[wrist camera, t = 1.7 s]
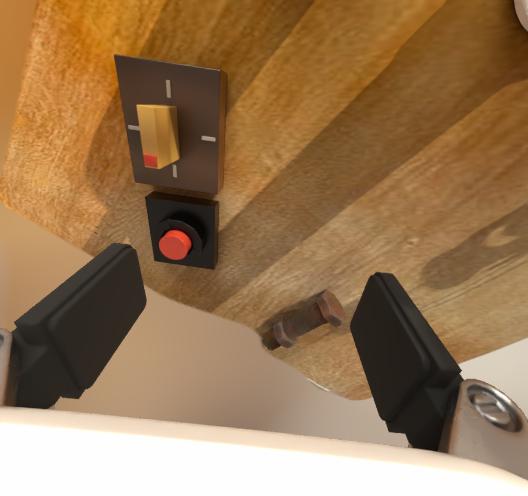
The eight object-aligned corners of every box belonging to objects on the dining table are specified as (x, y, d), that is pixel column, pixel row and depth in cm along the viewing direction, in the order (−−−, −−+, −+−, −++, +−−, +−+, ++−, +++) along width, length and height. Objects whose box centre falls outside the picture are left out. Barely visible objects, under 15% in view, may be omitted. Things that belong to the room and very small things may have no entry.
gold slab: (163, 104, 23) (134, 104, 19) (176, 106, 23) (151, 107, 19) (167, 157, 26) (143, 167, 22) (180, 158, 26) (158, 169, 22)
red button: (163, 227, 30) (157, 233, 29) (191, 231, 30) (186, 238, 29) (166, 250, 32) (160, 257, 30) (192, 254, 32) (187, 261, 30)
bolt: (266, 323, 46) (329, 286, 39) (281, 346, 45) (347, 311, 38) (251, 338, 41) (321, 297, 34) (268, 363, 40) (342, 327, 33)
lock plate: (131, 59, 24) (112, 53, 21) (227, 73, 24) (220, 69, 21) (147, 176, 30) (134, 182, 28) (223, 187, 30) (217, 195, 28)
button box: (153, 191, 31) (137, 201, 28) (219, 201, 31) (211, 212, 28) (161, 253, 37) (148, 268, 33) (217, 261, 37) (210, 277, 33)
